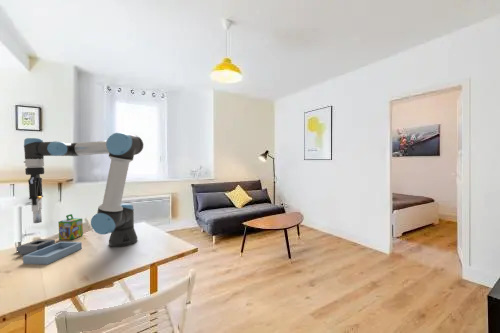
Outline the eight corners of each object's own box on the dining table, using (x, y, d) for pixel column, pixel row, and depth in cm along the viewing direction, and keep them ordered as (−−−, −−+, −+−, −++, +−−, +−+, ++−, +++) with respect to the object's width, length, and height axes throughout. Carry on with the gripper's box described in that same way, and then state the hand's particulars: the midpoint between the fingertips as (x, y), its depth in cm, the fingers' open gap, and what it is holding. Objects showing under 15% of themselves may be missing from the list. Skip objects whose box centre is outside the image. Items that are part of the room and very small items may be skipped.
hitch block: (29, 247, 135) (29, 238, 135) (55, 248, 134) (54, 239, 133) (10, 254, 125) (9, 245, 125) (37, 255, 124) (36, 246, 123)
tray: (60, 247, 134) (60, 241, 134) (81, 248, 133) (81, 242, 133) (23, 263, 114) (22, 256, 114) (47, 264, 113) (47, 257, 113)
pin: (33, 222, 130) (32, 196, 129) (44, 220, 132) (43, 195, 131) (30, 224, 125) (29, 197, 125) (41, 222, 128) (40, 196, 127)
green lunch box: (72, 240, 147) (71, 216, 147) (58, 240, 148) (57, 216, 147) (83, 235, 156) (82, 213, 156) (70, 235, 157) (69, 213, 157)
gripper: (31, 167, 134) (33, 208, 134) (19, 167, 118) (21, 214, 119) (48, 166, 137) (50, 206, 138) (38, 167, 122) (41, 212, 122)
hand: (36, 210), depth 128 cm, fingers closed on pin, 5 cm apart
